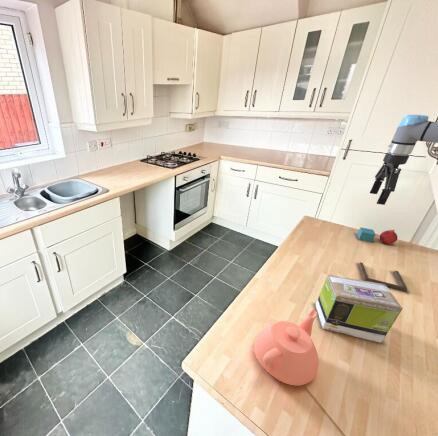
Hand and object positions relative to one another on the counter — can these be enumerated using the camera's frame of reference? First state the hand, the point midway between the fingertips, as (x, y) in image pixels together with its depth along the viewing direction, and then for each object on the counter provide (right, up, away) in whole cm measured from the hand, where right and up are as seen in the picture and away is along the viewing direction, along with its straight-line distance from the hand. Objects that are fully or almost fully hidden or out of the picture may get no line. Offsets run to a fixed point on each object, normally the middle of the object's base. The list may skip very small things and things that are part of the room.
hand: (376, 198), depth 115 cm
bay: (-18, -33, -20) cm, 42 cm away
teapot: (-71, -49, -47) cm, 98 cm away
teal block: (-3, -20, +3) cm, 20 cm away
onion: (+4, -22, 0) cm, 22 cm away
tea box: (-46, -43, -38) cm, 74 cm away
